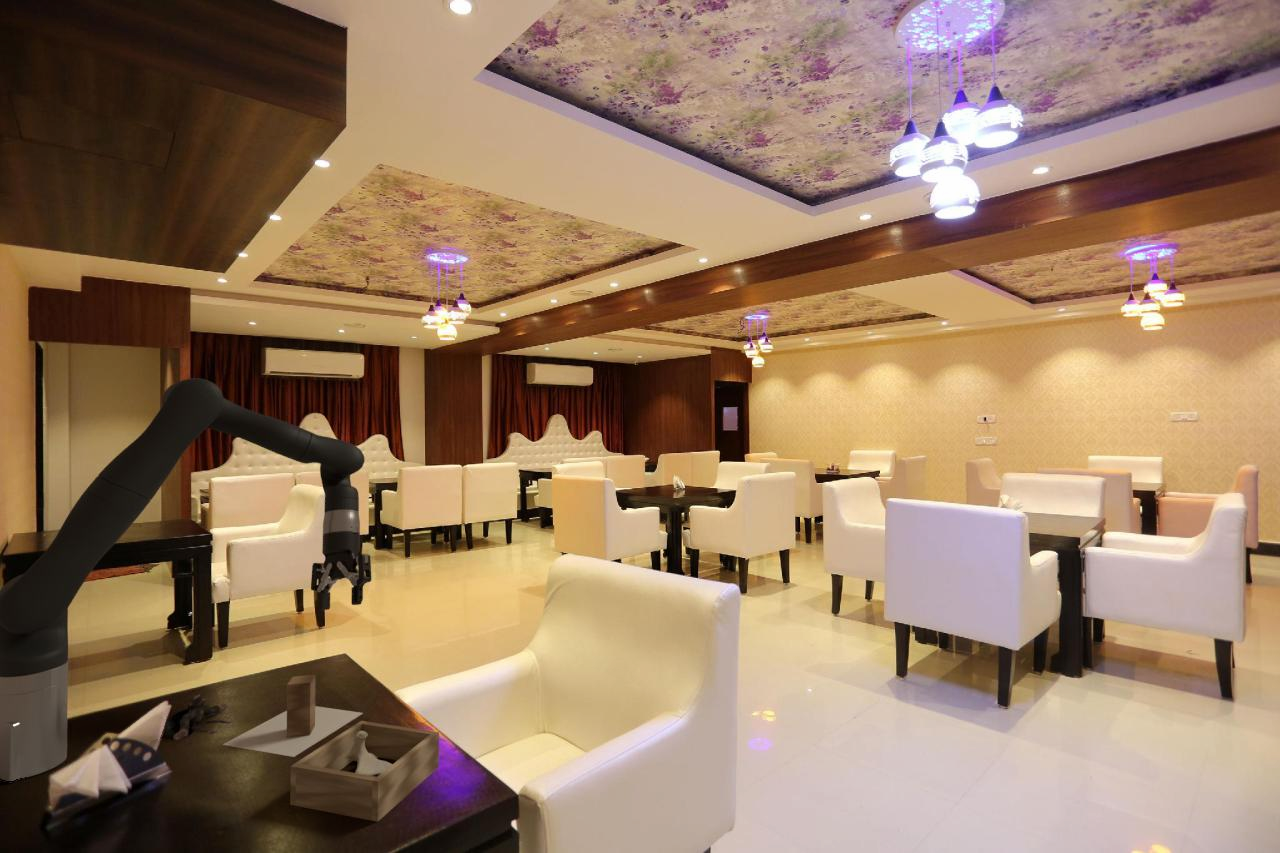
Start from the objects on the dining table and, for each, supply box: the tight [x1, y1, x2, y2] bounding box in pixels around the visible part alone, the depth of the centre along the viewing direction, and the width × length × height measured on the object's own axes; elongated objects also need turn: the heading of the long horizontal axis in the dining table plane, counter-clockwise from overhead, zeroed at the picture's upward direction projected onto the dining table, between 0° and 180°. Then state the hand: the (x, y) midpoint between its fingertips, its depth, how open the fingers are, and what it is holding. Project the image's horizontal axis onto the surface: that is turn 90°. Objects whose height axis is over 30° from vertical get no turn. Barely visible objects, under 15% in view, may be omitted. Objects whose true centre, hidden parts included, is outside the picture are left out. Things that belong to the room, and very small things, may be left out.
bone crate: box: [289, 720, 440, 822], centre depth 104 cm, size 16×16×6 cm
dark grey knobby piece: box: [164, 694, 236, 741], centre depth 125 cm, size 12×10×12 cm
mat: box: [222, 705, 364, 758], centre depth 122 cm, size 18×16×1 cm
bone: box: [345, 731, 394, 777], centre depth 105 cm, size 10×6×10 cm
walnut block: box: [286, 674, 317, 738], centre depth 121 cm, size 4×4×10 cm
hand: (340, 607), depth 136 cm, fingers open, 8 cm apart
